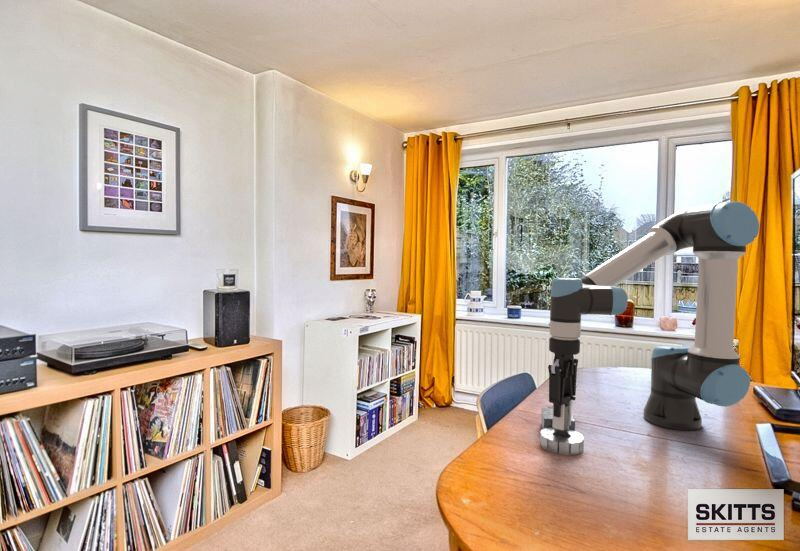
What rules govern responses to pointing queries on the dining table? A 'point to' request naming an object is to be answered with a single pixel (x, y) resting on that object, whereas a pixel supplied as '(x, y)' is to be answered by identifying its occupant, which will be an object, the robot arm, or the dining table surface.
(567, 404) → the black capped grinder
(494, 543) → the dining table surface
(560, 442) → the grey block with disc
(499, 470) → the dining table surface
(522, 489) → the dining table surface
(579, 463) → the dining table surface
